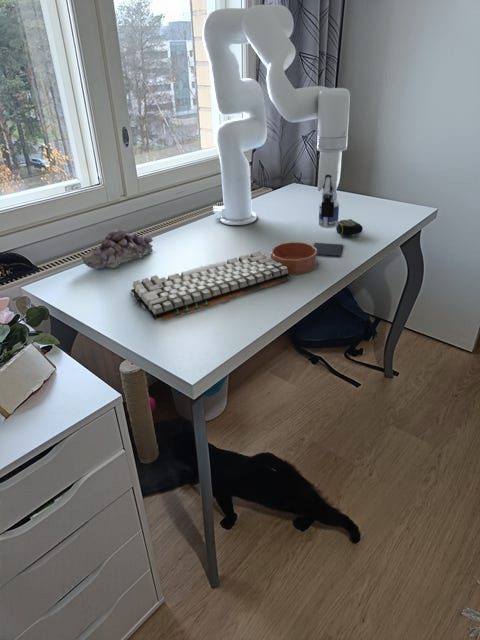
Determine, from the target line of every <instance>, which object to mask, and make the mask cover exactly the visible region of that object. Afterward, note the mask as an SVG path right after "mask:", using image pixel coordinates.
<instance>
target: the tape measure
mask: <svg viewBox="0 0 480 640" xmlns="http://www.w3.org/2000/svg"><path fill="white" fill-rule="evenodd" d="M335 230H336V233H337V234H338V235H342V236H344V237H352V236H356V235H359V234H361V233H362V232H363V226H362V225H361V224H360V223H358V222H357V221H356V220H353V219H351V218H349V219H341V220H338V225H337V226H336V227H335Z"/></svg>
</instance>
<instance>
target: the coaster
mask: <svg viewBox="0 0 480 640" xmlns="http://www.w3.org/2000/svg"><path fill="white" fill-rule="evenodd" d="M313 246H314V247H315V248H316V249H317V256H320V257H321V256H322V257H323V256H324V257H340V256H341V253H342V249H343V244H341V243H327V242H326V243H324V242H314V244H313Z"/></svg>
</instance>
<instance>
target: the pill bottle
mask: <svg viewBox="0 0 480 640" xmlns="http://www.w3.org/2000/svg"><path fill="white" fill-rule="evenodd" d="M330 194H331V193H330ZM322 198H323V192H322V193H321V199H322ZM337 199H338V193H337V191H336V192H334V197H333V202H334V215H333V217H322V216H321V208H322V200H321V201H320V202H319V204H318V226H319V227H320V228H323V229H333V228H336V226H337V225H338V222H339V212H340V211H339V210H340V202H339V201H338V200H337Z"/></svg>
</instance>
